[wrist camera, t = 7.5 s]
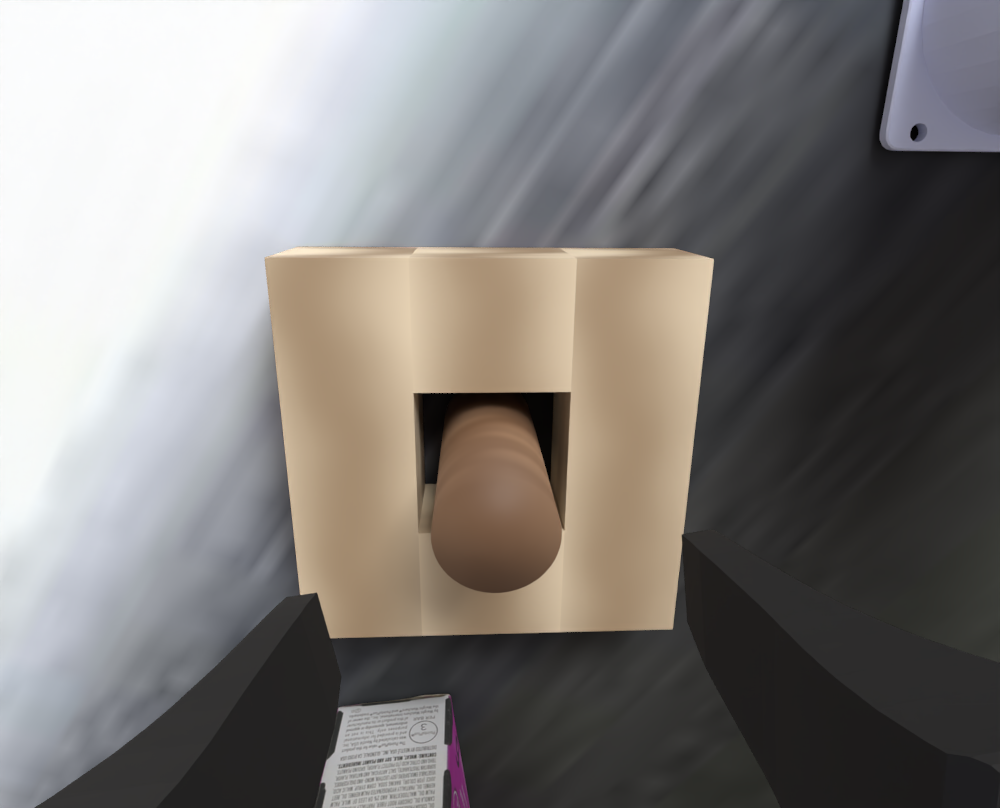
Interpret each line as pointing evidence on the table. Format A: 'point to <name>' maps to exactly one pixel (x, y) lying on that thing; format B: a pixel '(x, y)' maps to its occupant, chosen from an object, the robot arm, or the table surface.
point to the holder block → (488, 369)
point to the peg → (493, 496)
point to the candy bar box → (394, 756)
